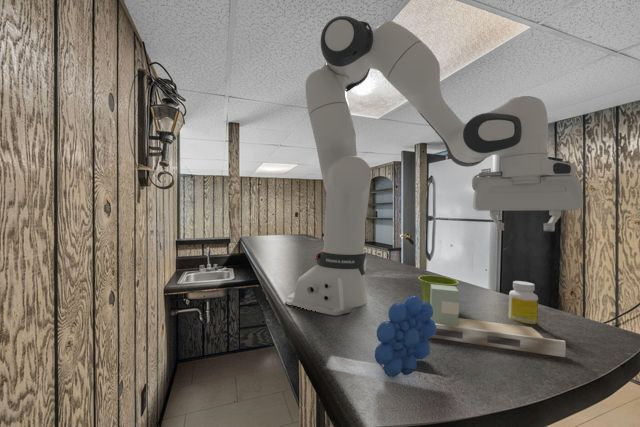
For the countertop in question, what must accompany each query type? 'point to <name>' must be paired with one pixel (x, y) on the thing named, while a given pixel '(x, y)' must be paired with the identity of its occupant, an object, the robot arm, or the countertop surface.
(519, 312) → the supplement bottle
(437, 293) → the sage tin
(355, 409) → the countertop surface
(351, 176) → the robot arm
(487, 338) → the shelf board
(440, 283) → the plant pot
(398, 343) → the grapes
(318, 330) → the countertop surface
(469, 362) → the countertop surface
